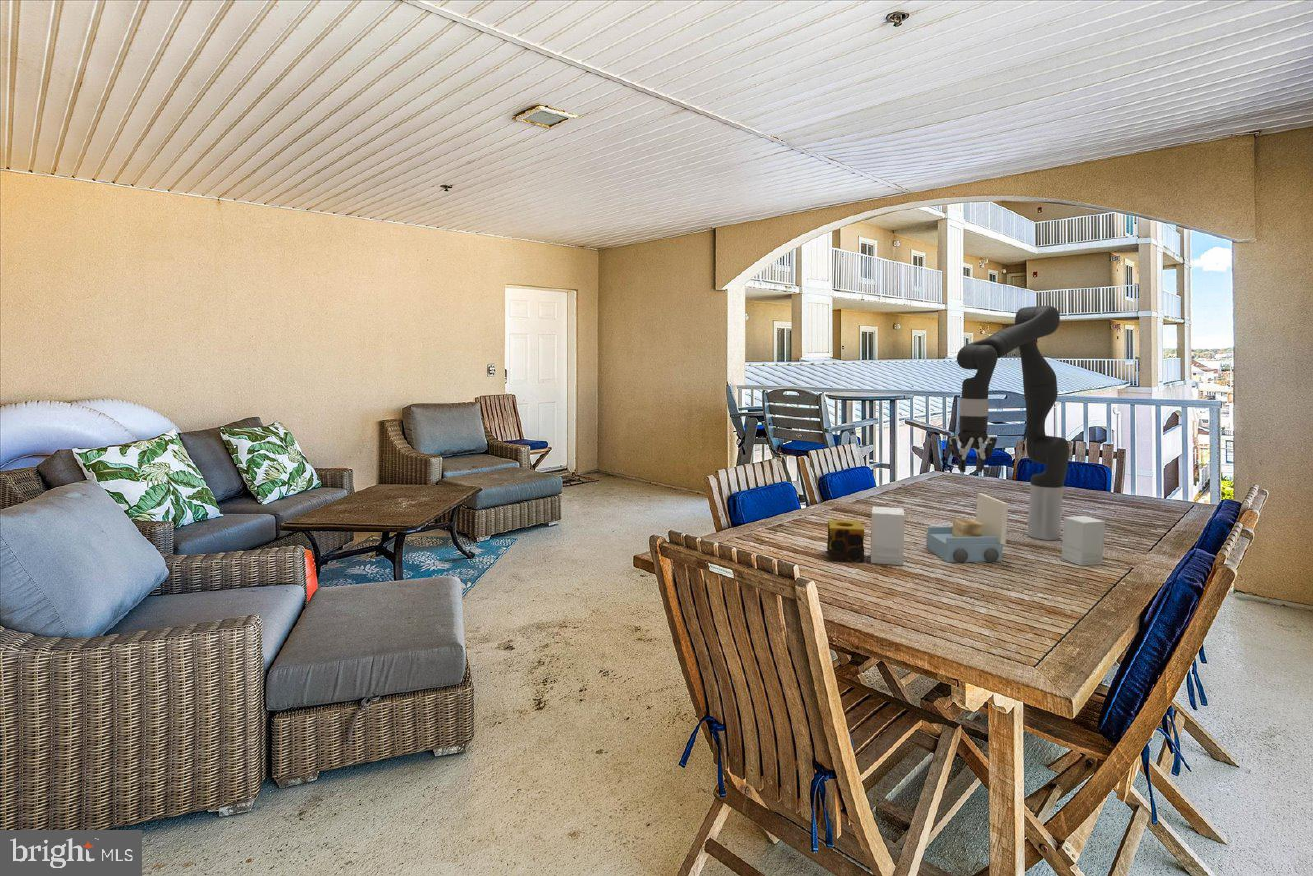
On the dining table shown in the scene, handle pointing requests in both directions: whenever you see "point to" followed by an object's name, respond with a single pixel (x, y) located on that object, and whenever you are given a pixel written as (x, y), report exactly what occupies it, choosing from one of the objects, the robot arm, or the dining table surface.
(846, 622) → the dining table surface
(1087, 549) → the supplement box
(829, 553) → the yellow spotted cube
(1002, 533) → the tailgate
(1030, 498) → the robot arm
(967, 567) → the dining table surface
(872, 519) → the supplement box
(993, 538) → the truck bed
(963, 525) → the wooden block
